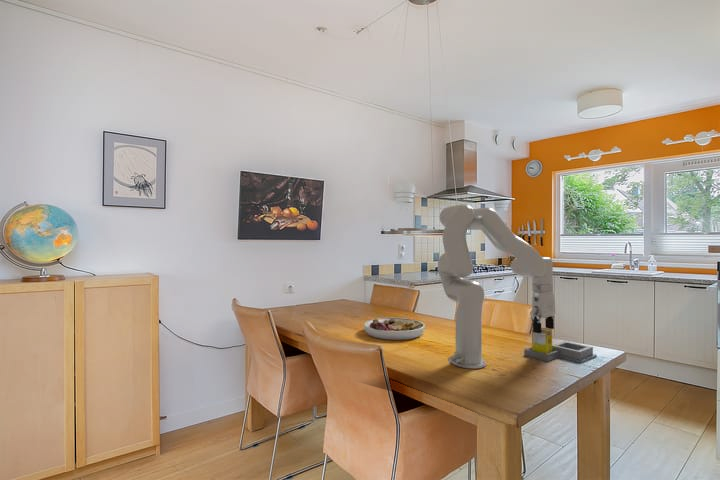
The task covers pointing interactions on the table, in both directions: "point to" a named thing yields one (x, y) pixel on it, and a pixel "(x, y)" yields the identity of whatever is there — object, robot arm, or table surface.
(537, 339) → the supplement box
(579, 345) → the block
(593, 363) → the table surface
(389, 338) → the bowl
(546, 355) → the grey square tray
